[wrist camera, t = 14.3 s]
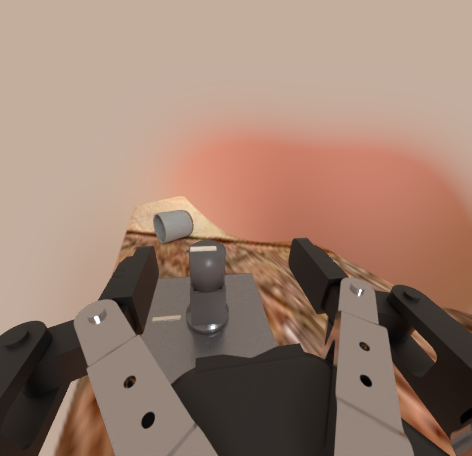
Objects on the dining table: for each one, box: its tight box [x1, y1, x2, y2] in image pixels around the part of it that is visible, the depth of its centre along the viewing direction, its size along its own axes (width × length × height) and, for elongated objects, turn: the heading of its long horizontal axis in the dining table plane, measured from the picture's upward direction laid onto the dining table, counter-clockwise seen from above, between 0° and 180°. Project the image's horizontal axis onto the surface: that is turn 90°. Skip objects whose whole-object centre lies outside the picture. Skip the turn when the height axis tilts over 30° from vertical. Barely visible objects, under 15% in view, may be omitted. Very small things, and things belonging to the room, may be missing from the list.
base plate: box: [141, 273, 277, 385], centre depth 30 cm, size 18×18×5 cm
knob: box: [189, 240, 226, 326], centre depth 27 cm, size 5×5×11 cm
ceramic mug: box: [153, 210, 193, 243], centre depth 52 cm, size 11×8×8 cm
